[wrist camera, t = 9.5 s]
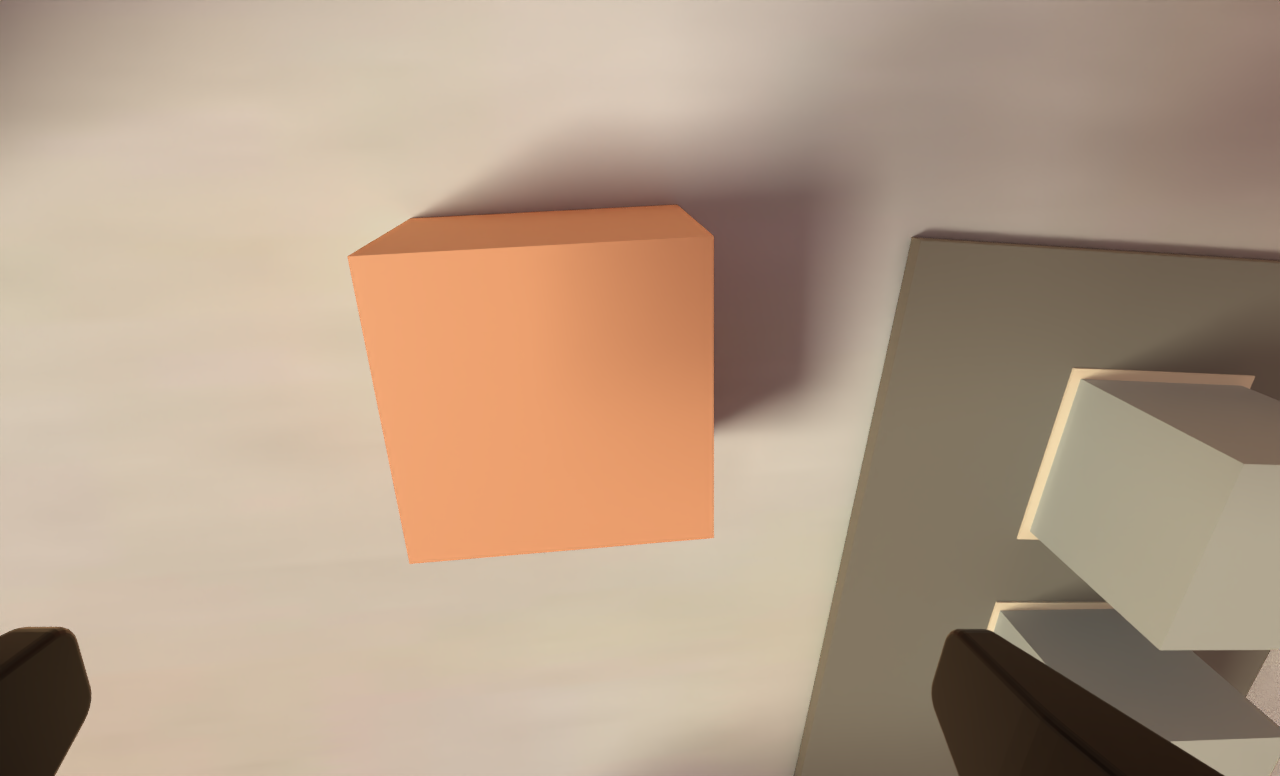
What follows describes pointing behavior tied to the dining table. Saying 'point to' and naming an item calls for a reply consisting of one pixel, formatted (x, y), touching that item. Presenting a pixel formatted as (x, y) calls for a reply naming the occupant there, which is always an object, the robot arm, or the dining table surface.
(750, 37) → the dining table surface
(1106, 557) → the pier
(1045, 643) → the block
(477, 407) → the terracotta colored cube
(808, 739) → the mat
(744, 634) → the dining table surface
